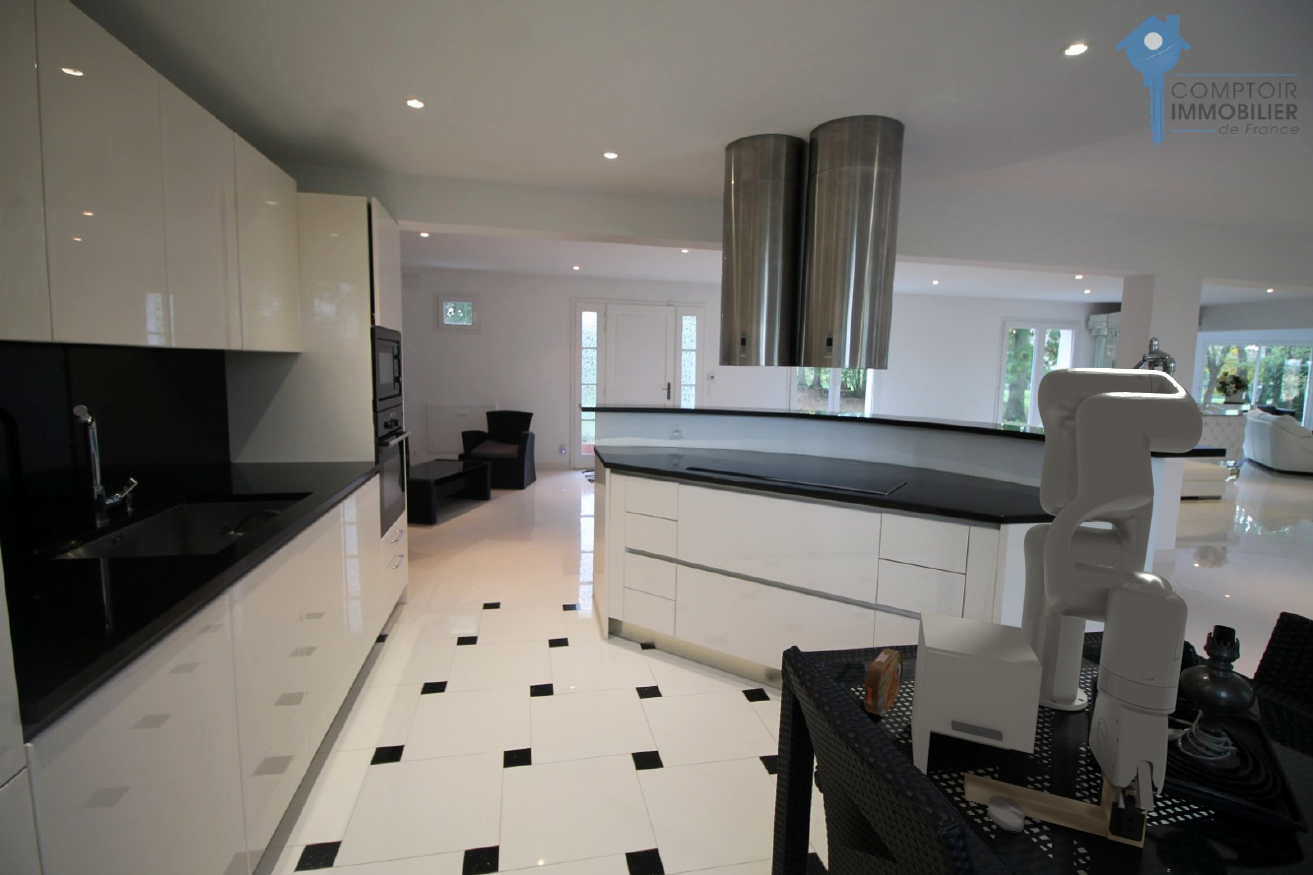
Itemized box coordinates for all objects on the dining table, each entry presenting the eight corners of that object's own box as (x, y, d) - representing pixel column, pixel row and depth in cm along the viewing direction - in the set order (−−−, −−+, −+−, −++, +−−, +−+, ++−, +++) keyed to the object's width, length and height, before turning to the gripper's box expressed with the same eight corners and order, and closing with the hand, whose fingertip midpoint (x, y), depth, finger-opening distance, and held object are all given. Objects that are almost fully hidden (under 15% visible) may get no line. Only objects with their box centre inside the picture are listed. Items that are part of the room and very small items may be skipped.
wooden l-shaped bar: (963, 785, 82) (967, 744, 82) (1131, 828, 75) (1137, 784, 75) (966, 801, 79) (970, 759, 78) (1142, 847, 72) (1148, 802, 71)
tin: (878, 725, 96) (882, 676, 95) (858, 718, 98) (862, 669, 97) (903, 689, 108) (906, 645, 107) (885, 683, 110) (889, 640, 109)
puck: (985, 806, 78) (986, 792, 78) (1019, 815, 77) (1021, 801, 77) (989, 827, 75) (991, 812, 74) (1026, 837, 73) (1028, 822, 73)
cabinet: (910, 722, 97) (920, 611, 95) (1008, 744, 92) (1020, 627, 90) (914, 780, 83) (926, 650, 81) (1030, 810, 78) (1045, 673, 76)
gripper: (1079, 652, 81) (1065, 776, 83) (1123, 713, 66) (1105, 864, 68) (1146, 663, 79) (1129, 792, 81) (1208, 730, 63) (1186, 887, 65)
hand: (1118, 823), depth 74 cm, fingers closed on wooden l-shaped bar, 3 cm apart
